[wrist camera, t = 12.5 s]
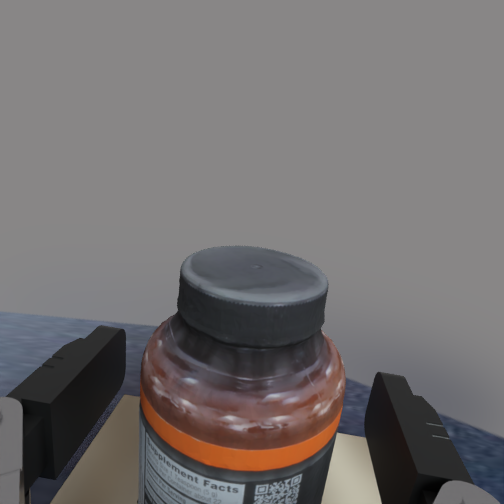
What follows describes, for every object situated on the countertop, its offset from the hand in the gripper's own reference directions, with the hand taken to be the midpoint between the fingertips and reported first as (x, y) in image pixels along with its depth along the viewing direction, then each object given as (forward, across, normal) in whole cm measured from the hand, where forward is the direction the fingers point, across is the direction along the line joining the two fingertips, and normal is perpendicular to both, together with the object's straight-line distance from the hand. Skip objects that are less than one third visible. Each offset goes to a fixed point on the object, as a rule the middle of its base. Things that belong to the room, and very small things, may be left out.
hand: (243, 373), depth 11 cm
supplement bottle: (0, 0, +8) cm, 8 cm away
